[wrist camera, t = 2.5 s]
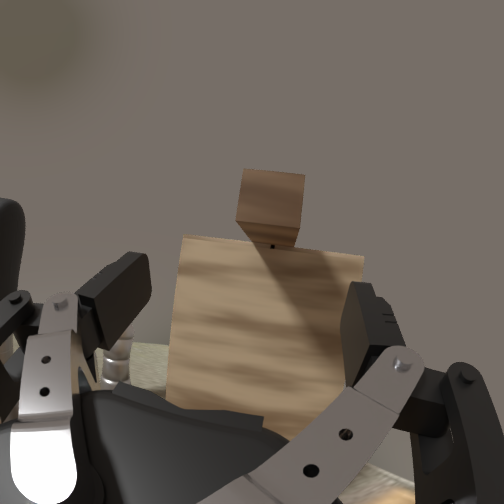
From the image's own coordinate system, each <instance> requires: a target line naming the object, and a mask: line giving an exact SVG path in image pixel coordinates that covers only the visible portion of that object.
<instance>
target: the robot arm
mask: <svg viewBox="0 0 504 504" xmlns="http://www.w3.org/2000/svg"><path fill="white" fill-rule="evenodd" d="M24 238H25V216H24V212H23V209H22V207H21V206H20V205H19V203H17V202H16V201H14V200H11V199H5V198H0V504H343V503H342V502H341V501H340V500H339V498H338V496H339V495H340V494H341V493H342V491H343V490H344V489H345V488H346V487H347V486H348V485H349V484H350V482H351V481H352V480H353V479H354V478H355V476H356V475H357V474H358V473H359V472H360V470H361V469H362V468H363V467H364V465H365V464H366V463H367V461H368V460H369V459H370V458H371V456H372V455H373V454H374V452H375V451H376V449H377V448H378V446H379V445H380V444H381V443H382V441H383V440H384V438H385V437H386V435H387V434H388V432H389V431H390V429H391V428H395V429H398V430H402V431H407V432H410V439H411V447H412V457H413V468H414V482H415V504H504V435H503V432H502V429H501V425H500V422H499V420H498V417H497V414H496V411H495V408H494V405H493V403H492V400H491V397H490V395H489V392H488V390H487V387H486V385H485V382H484V380H483V377H482V375H481V374H480V372H479V371H478V370H477V369H476V368H474V367H473V366H472V365H470V364H467V363H464V362H456V363H454V364H452V365H451V366H450V367H449V369H448V370H447V372H446V373H444V372H440V371H436V370H432V369H429V368H426V367H425V366H424V362H423V360H422V358H421V357H420V355H419V354H418V353H416V352H415V351H414V350H412V349H410V348H407V347H406V345H405V342H404V340H403V337H402V334H401V331H400V329H399V326H398V324H397V321H396V319H395V316H394V313H393V311H392V308H391V306H390V305H389V304H388V303H387V302H386V301H385V300H384V299H383V298H382V297H376V295H375V292H374V290H373V287H372V284H371V283H365V282H356V281H351V283H350V285H349V289H348V293H347V297H346V301H345V304H344V308H343V312H342V316H341V321H340V335H341V343H342V352H343V361H344V370H345V380H346V388H345V389H344V390H343V391H342V392H341V393H340V394H339V396H338V397H337V398H336V399H335V400H334V401H333V402H332V403H331V404H330V405H329V406H328V407H327V408H326V409H325V410H324V411H323V412H322V413H321V414H320V415H319V416H317V417H316V418H315V419H314V420H313V421H312V422H311V423H310V424H309V425H308V426H307V427H306V428H305V429H303V430H302V431H301V432H300V433H299V434H298V435H297V436H296V437H295V438H293V439H292V440H291V441H289V440H288V439H286V438H285V437H283V436H281V435H280V434H278V433H276V432H274V431H272V430H269V429H267V428H264V427H262V426H263V420H264V416H258V415H252V414H245V413H239V412H234V411H228V410H195V409H183V408H180V407H178V406H176V405H174V404H172V403H170V402H168V401H167V400H165V399H163V398H161V397H159V396H158V395H156V394H154V393H152V392H151V391H148V390H145V389H142V388H139V387H135V386H132V385H129V384H127V383H124V382H121V381H119V382H118V383H117V385H116V387H115V388H114V390H101V387H100V380H99V372H98V364H97V356H96V353H95V350H96V349H97V347H98V348H101V349H104V350H107V351H110V350H111V348H112V347H113V346H114V344H115V343H116V342H117V340H118V339H119V338H120V337H121V335H122V334H123V333H124V331H125V330H126V329H127V328H128V326H129V325H130V324H131V323H132V321H133V320H134V318H136V316H137V315H138V314H139V312H140V311H141V310H142V309H143V308H144V306H145V305H146V304H147V303H148V301H149V299H150V297H151V292H152V286H151V278H150V270H149V261H148V257H147V255H146V254H143V253H137V252H127V253H126V254H125V255H123V256H122V257H121V258H120V259H119V260H117V261H116V262H114V263H112V264H110V265H107V266H106V267H105V268H104V269H102V270H101V271H100V272H99V273H97V274H96V275H95V276H94V277H93V278H91V279H90V280H89V281H88V282H87V283H85V284H84V285H83V286H82V287H81V288H80V289H78V290H77V291H76V292H75V293H71V292H61V293H57V294H54V295H52V296H51V297H49V298H48V299H47V300H46V301H45V302H44V304H39V303H33V301H32V298H31V296H30V293H29V292H28V291H25V290H19V291H17V287H18V277H19V270H20V264H21V258H22V252H23V246H24ZM13 334H14V336H15V338H16V340H17V342H18V344H19V346H20V347H19V348H18V349H17V350H16V351H15V353H14V354H13ZM450 428H451V430H450ZM451 432H452V434H451ZM452 437H453V439H452Z"/></svg>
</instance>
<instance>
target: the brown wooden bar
mask: <svg viewBox="0 0 504 504" xmlns="http://www.w3.org/2000/svg"><path fill="white" fill-rule="evenodd" d="M304 182H305V175H302V174H293V173H284V172H274V171H263V170H254V169H243V175H242V181H241V188H240V194H239V201H238V208H237V214H236V222H237V223H238V224H239V225H240V227H241V228H242V230H243V231H244V232H245V233H246V235H247V236H248V237H249V238H250V240H251V241H252V242H255V243H263V244H271V247H272V249H274V248H275V245H279V246H287V247H294V245H295V242H296V239H297V236H298V232H299V229H300V222H301V212H302V202H303V192H304Z"/></svg>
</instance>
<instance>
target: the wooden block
mask: <svg viewBox="0 0 504 504" xmlns="http://www.w3.org/2000/svg"><path fill="white" fill-rule="evenodd" d="M363 264H364V256H357V255H350V254H342V253H334V252H327V251H319V250H311V249H303V248H295V247H287V246H279V245H275V248H274V249H272V247H271V244H263V243H255V242H246V241H238V240H230V239H222V238H213V237H205V236H196V235H188V234H184V235H183V241H182V248H181V254H180V261H179V268H178V275H177V283H176V290H175V298H174V306H173V315H172V325H171V334H170V345H169V356H168V369H167V383H166V400H167V401H168V402H170V403H172V404H174V405H176V406H178V407H180V408H183V409H195V410H228V411H234V412H239V413H245V414H252V415H258V416H264V420H263V426H262V427H264V428H267V429H269V430H272V431H274V432H276V433H278V434H280V435H281V436H283V437H285V438H286V439H288V440H289V441H291V440H292V439H293V438H295V437H296V436H297V435H298V434H299V433H300V432H301V431H302V430H303V429H305V428H306V427H307V426H308V425H309V424H310V423H311V422H312V421H313V420H314V419H315V418H316V417H317V416H319V415H320V414H321V413H322V412H323V411H324V410H325V409H326V408H327V407H328V406H329V405H330V404H331V403H332V402H333V401H334V400H335V399H336V398H337V397H338V396H339V394H340V393H341V392H342V391H343V386H344V382H345V370H344V361H343V352H342V343H341V335H340V321H341V316H342V312H343V308H344V304H345V301H346V297H347V293H348V289H349V285H350V283H351V281H356V282H362V273H363Z"/></svg>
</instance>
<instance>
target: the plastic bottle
mask: <svg viewBox="0 0 504 504" xmlns="http://www.w3.org/2000/svg"><path fill="white" fill-rule="evenodd" d="M133 337H134V328H133V326H132V324H130V325H129V326H128V328H127V329H126V330H125V331H124V333H123V334H122V335H121V337H120V338H119V339H118V340H117V342H116V343H115V344H114V346H113V347H112V348H111V350H110V351H107V350H104V349H103V354H104V355H103V368H102V375H101V380H100V387H101V390H114V388H115V387H116V385H117V383H118V382H119V381H121V382H124V383H127V384H129V385H131V381H130V371H129V361H130V359H129V358H130V352H131V346H132V342H133Z"/></svg>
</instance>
